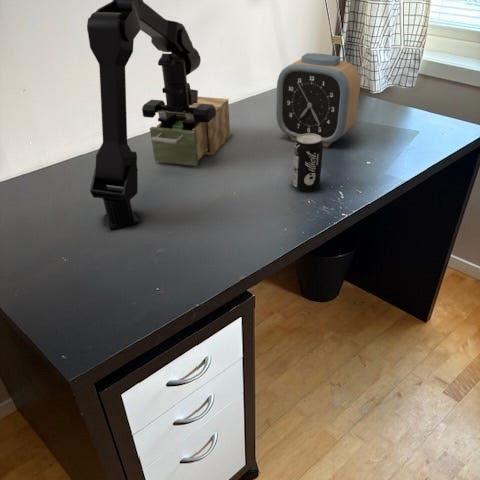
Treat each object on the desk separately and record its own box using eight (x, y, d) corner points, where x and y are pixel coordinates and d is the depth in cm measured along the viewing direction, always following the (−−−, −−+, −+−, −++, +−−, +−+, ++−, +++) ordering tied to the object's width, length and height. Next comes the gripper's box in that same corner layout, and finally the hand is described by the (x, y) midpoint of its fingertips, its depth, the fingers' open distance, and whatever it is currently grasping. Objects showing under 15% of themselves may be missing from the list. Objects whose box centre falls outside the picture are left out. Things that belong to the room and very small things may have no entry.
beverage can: (324, 185, 117) (329, 137, 109) (308, 195, 113) (312, 146, 105) (303, 178, 120) (306, 130, 112) (287, 187, 117) (288, 138, 109)
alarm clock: (275, 138, 140) (276, 57, 126) (290, 127, 146) (292, 48, 132) (340, 151, 132) (349, 65, 117) (353, 139, 138) (363, 56, 123)
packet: (191, 145, 131) (188, 121, 127) (185, 151, 128) (182, 127, 124) (181, 144, 132) (178, 120, 127) (175, 150, 129) (171, 126, 125)
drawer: (189, 173, 123) (185, 139, 117) (146, 168, 126) (141, 135, 120) (215, 146, 135) (213, 114, 129) (175, 142, 138) (171, 110, 133)
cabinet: (212, 155, 133) (209, 116, 126) (168, 150, 136) (163, 112, 129) (230, 135, 143) (228, 98, 136) (188, 131, 147) (185, 95, 139)
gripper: (221, 74, 122) (225, 135, 132) (156, 70, 127) (164, 129, 137) (205, 87, 114) (210, 151, 124) (136, 82, 119) (146, 144, 129)
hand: (182, 143), depth 129 cm, fingers closed on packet, 3 cm apart
